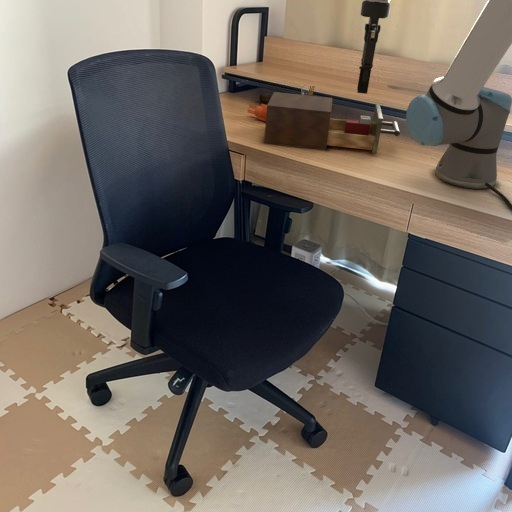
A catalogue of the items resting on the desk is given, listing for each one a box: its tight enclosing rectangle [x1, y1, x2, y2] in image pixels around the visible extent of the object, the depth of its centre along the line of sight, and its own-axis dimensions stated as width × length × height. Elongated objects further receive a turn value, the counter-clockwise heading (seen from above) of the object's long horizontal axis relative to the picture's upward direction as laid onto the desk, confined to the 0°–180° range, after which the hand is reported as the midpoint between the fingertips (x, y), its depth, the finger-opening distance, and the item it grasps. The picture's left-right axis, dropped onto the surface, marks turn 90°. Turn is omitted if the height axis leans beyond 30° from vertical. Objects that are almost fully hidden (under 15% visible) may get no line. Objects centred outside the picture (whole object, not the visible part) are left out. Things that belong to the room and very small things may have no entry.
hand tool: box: [259, 91, 273, 105], centre depth 186 cm, size 19×4×5 cm, turn 37°
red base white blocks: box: [344, 115, 372, 136], centre depth 155 cm, size 7×3×6 cm, turn 82°
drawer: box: [327, 103, 401, 154], centre depth 155 cm, size 24×17×10 cm
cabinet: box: [263, 91, 333, 151], centre depth 156 cm, size 18×17×11 cm
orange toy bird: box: [247, 103, 268, 122], centre depth 173 cm, size 5×8×12 cm
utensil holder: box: [300, 85, 315, 96], centre depth 174 cm, size 6×6×12 cm
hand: (362, 91), depth 150 cm, fingers open, 3 cm apart
